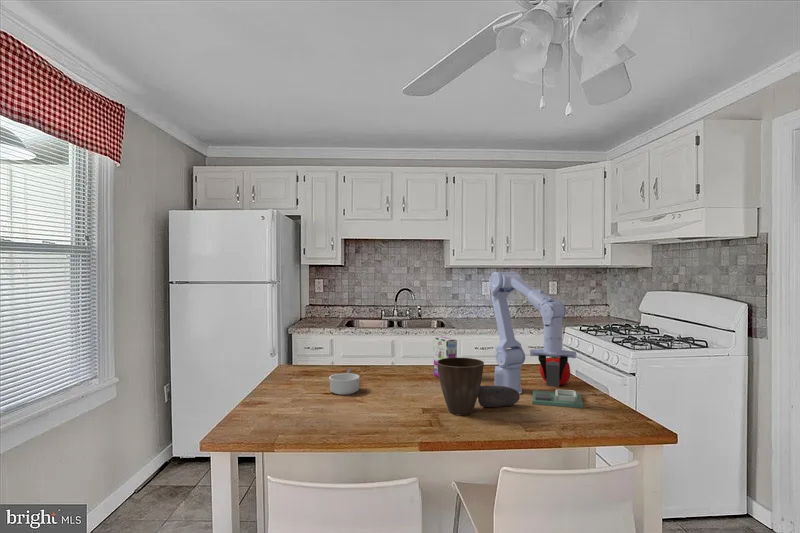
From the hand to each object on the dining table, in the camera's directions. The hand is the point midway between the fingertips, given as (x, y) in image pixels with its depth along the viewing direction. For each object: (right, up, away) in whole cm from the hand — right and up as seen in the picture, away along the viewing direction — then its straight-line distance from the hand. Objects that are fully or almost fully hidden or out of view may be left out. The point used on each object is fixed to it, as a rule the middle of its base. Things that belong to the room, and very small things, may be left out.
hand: (552, 378), depth 160 cm
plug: (0, -2, 0) cm, 2 cm away
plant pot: (-32, -9, -6) cm, 33 cm away
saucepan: (-71, -9, +22) cm, 75 cm away
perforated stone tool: (-18, -9, -1) cm, 21 cm away
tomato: (+9, -9, +27) cm, 30 cm away
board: (+3, -9, +6) cm, 11 cm away
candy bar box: (-32, -9, +38) cm, 51 cm away
